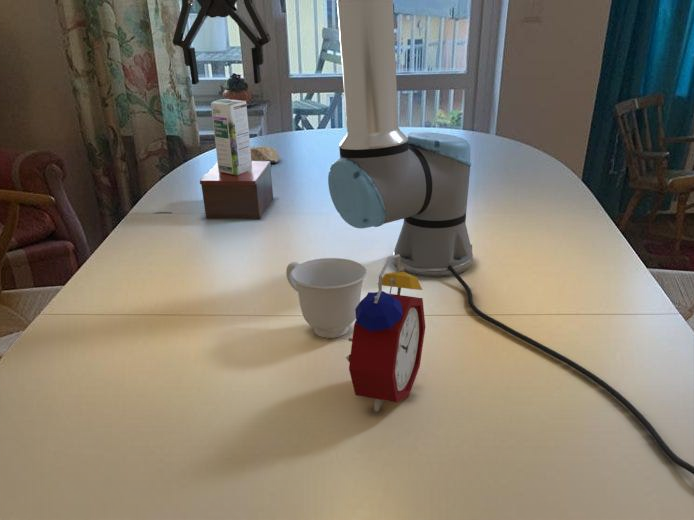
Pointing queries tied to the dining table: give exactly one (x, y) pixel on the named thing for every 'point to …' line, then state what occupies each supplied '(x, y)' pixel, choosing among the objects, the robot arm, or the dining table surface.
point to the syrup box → (231, 136)
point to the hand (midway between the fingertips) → (226, 83)
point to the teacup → (328, 293)
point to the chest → (238, 199)
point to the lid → (230, 179)
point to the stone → (264, 154)
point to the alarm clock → (387, 339)
